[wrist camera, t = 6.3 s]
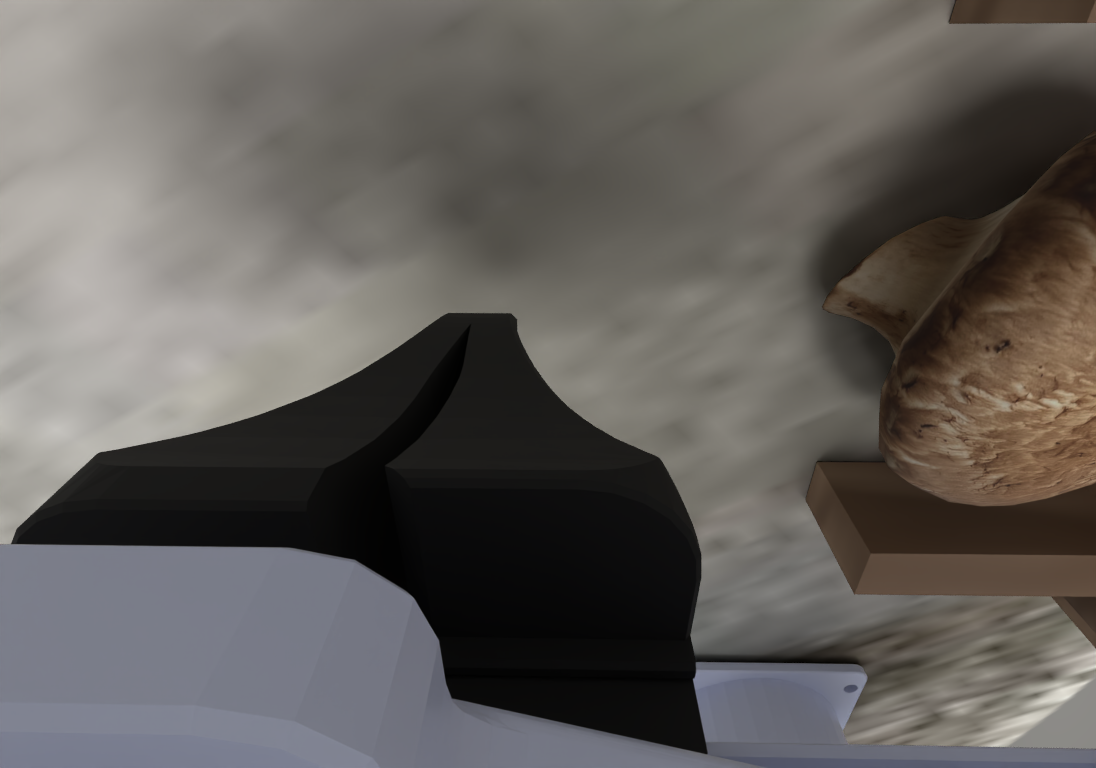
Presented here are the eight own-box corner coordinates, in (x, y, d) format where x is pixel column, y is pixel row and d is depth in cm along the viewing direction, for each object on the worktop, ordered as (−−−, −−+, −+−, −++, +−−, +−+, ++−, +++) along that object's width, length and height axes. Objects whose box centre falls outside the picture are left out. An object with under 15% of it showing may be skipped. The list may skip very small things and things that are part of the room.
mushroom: (712, 335, 12) (1093, 540, 7) (964, -11, 11) (1526, 3, 7) (805, 442, 18) (1044, 587, 13) (972, 221, 17) (1272, 303, 13)
